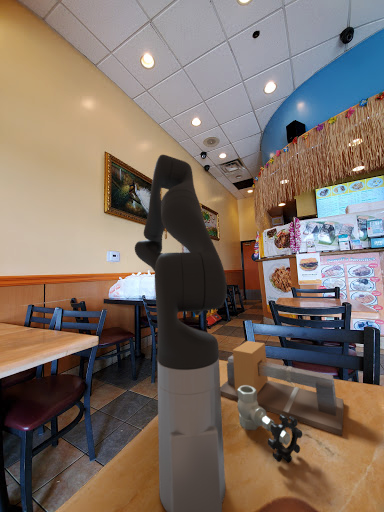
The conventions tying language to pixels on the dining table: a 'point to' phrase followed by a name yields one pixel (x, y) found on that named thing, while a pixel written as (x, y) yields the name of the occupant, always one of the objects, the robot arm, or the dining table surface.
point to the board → (293, 405)
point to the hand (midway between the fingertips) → (199, 313)
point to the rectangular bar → (297, 381)
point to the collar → (249, 365)
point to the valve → (268, 424)
